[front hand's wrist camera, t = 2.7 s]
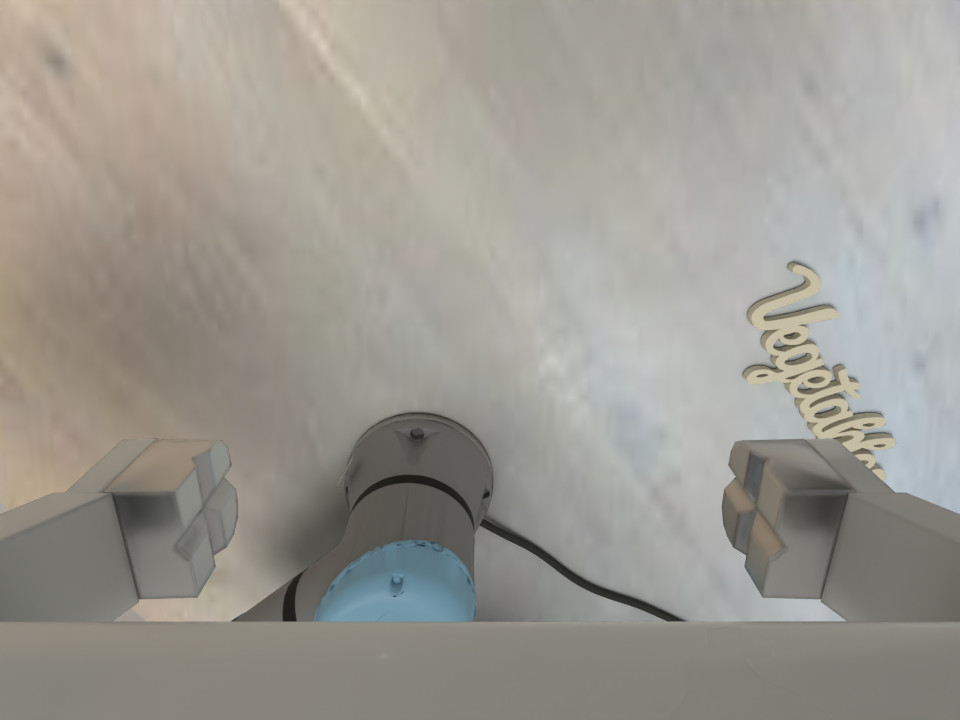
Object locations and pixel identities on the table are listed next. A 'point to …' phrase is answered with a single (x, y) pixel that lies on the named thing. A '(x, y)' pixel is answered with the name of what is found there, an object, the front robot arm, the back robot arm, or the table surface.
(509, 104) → the table surface
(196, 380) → the table surface
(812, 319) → the decorative sign
